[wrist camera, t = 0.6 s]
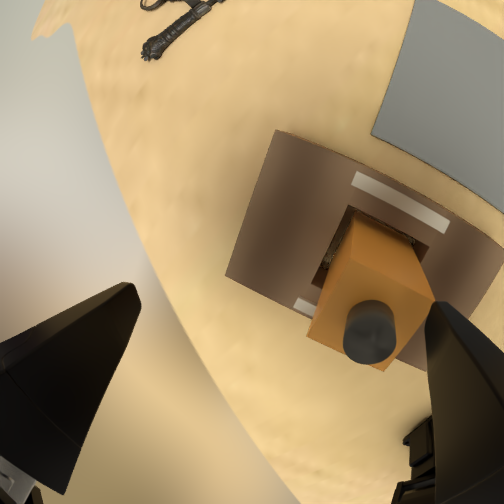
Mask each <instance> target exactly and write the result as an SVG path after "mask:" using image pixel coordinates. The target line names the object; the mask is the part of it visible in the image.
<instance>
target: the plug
mask: <svg viewBox="0 0 504 504" xmlns="http://www.w3.org/2000/svg"><path fill="white" fill-rule="evenodd" d="M434 301H435V298H434V296H433V293H432V291H431V288H430V286H429V283H428V281H427V279H426V276H425V274H424V272H423V269H422V267H421V265H420V263H419V261H418V258H417V256H416V254H415V252H414V250H413V248H412V246H411V244H410V242H409V239H408V237H406V236H404V235H403V234H401V233H399V232H397V231H395V230H393V229H391V228H389V227H387V226H386V225H384V224H382V223H380V222H378V221H376V220H374V219H372V218H370V217H368V216H366V215H364V214H362V213H360V212H358V211H356V210H355V212H354V215H353V217H352V219H351V221H350V223H349V225H348V227H347V230H346V232H345V234H344V236H343V238H342V240H341V242H340V244H339V246H338V248H337V250H336V252H335V254H334V256H333V258H332V260H331V263H330V266H329V269H328V273H327V276H326V279H325V282H324V285H323V289H322V292H321V295H320V298H319V301H318V304H317V307H316V310H315V313H314V316H313V319H312V322H311V324H310V327H309V330H308V333H307V337H309V338H311V339H313V340H315V341H317V342H319V343H321V344H323V345H326V346H328V347H330V348H332V349H334V350H336V351H338V352H341V353H343V354H345V355H347V356H348V357H349V358H350V359H351V360H353V361H355V362H357V363H360V364H366V365H369V366H372V367H374V368H376V369H379V370H381V371H383V372H384V370H385V369H386V368H387V367H388V366H389V365H390V363H391V362H392V361H393V360H394V359H395V357H396V356H397V355H398V354H399V352H400V351H401V350H402V349H403V347H404V346H405V345H406V344H407V342H408V341H409V340H410V338H411V337H412V336H413V335H414V333H415V332H416V331H417V329H418V328H419V326H420V325H421V324H422V322H423V321H424V320H425V318H426V317H427V315H428V313H429V311H430V308H431V305H432V303H433V302H434Z"/></svg>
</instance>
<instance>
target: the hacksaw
mask: <svg viewBox="0 0 504 504" xmlns="http://www.w3.org/2000/svg"><path fill="white" fill-rule="evenodd" d="M142 1H143V0H141V2H140V7H141V9H143V10H151V9H153V8H155V7H157V6H158V5H159V4H161V3H163V2H164V1H165V0H158V1H157V2H156V3H155V4H153V5H151V6H148V7H146V6H143V4H142ZM169 1H171V2H172V1H174V0H169ZM178 1H179V0H178ZM183 1H185V2H186V3H187V4H188V5H189V6H190V7H191V8H192V9H190V10H189V12H187V13H186V14H184V15H183V16H181V17H180V18H179V19H178V20H176V21H175V22H174V23H173V24H172V25H170V26H169V27H167V28H166V29H165V30H164V31H163V32H161V33H160V34H158V35H156V36H153V37H151V38H149V39H148V40H147V42H145V43H144V44H143V51H142V52H141V55H143V56H142V57H141V58H144V61H147V59H148V56H149V57H150V58H154V59H155V60H157V59H158V58H159V57H160V56H161V54H162V52H163V51H164V49H165V48H167V46H168V45H169V44H170V43H172V41H173V40H174V39H176V38H177V37H178V36H179V35H180V34H181V33H183V32H184V31H185V30H186V29H187V28H188V27H189V26H191V25H192V24H193V23H194V22H195V21H196V20H198V19H200V18H201V16H203V15H204V14H205V13H207V12H209V11H210V10H211V7H210V6H211V5H212V4H214V3H215V2H217V1H218V2H219V3H220V2H221V1H222V0H209V1H207V2H205V1H200V0H183Z"/></svg>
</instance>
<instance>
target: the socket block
mask: <svg viewBox="0 0 504 504" xmlns="http://www.w3.org/2000/svg"><path fill="white" fill-rule="evenodd" d="M348 204H349V205H351V206H353V207H355V208H357V209H359V210H361V211H363V212H365V213H367V214H369V215H371V216H373V217H375V218H377V219H379V220H381V221H383V222H385V223H387V224H389V225H391V226H393V227H394V228H396V229H398V230H400V231H402V232H404V233H406V234H408V235H409V236H411V237H413V238H415V239H417V240H416V242H415V244H414V246H413V250H414V252H415V254H416V256H417V258H418V261H419V263H420V265H421V267H422V269H423V272H424V274H425V276H426V279H427V281H428V283H429V286H430V288H431V291H432V293H433V296H434V298H435V301H447V302H448V303H449V304H451V305H452V306H453V307H454V308H455V309H456V310H458V311H459V312H460V313H461V314H462V315H463V316H464V317H466V318H467V319H468V318H469V317H470V316H471V314H472V313H473V311H474V310H475V308H476V307H477V305H478V304H479V302H480V301H481V299H482V298H483V296H484V295H485V293H486V291H487V290H488V288H489V287H490V285H491V283H492V282H493V280H494V278H495V277H496V275H497V273H498V271H499V270H500V268H501V266H502V264H503V262H504V248H502V247H501V246H500V245H499V244H498V243H496V242H495V241H494V240H493V239H491V238H490V237H489V236H487V235H486V234H484V233H483V232H481V231H480V230H479V229H477V228H476V227H474V226H473V225H471V224H470V223H468V222H466V221H465V220H463V219H462V218H460V217H459V216H457V215H456V214H454V213H452V212H451V211H449V210H447V209H446V208H444V207H443V206H441V205H439V204H438V203H436V202H434V201H432V200H431V199H429V198H427V197H425V196H424V195H422V194H420V193H418V192H417V191H415V190H413V189H411V188H409V187H407V186H406V185H404V184H402V183H400V182H398V181H396V180H394V179H392V178H390V177H388V176H386V175H384V174H382V173H380V172H378V171H376V170H374V169H372V168H370V167H368V166H366V165H364V164H362V163H360V162H358V161H355V160H353V159H351V158H349V157H347V156H344V155H342V154H340V153H337V152H335V151H333V150H331V149H328V148H326V147H323V146H321V145H319V144H316V143H314V142H311V141H309V140H306V139H304V138H301V137H298V136H296V135H293V134H290V133H288V132H283V131H279V130H275V133H274V135H273V138H272V141H271V144H270V147H269V149H268V152H267V155H266V158H265V161H264V163H263V166H262V169H261V172H260V175H259V178H258V180H257V183H256V186H255V189H254V192H253V195H252V198H251V200H250V203H249V206H248V209H247V212H246V215H245V218H244V221H243V224H242V227H241V229H240V232H239V235H238V238H237V241H236V244H235V247H234V250H233V253H232V256H231V259H230V262H229V265H228V268H227V271H226V274H225V276H226V277H228V278H230V279H232V280H234V281H236V282H238V283H240V284H242V285H244V286H246V287H248V288H250V289H252V290H253V291H255V292H257V293H259V294H261V295H263V296H265V297H267V298H269V299H271V300H273V301H275V302H277V303H279V304H281V305H283V306H285V307H287V308H289V309H291V310H294V311H296V312H298V313H300V314H302V315H304V316H306V317H308V318H310V319H313V316H314V313H315V310H316V307H317V304H318V301H319V298H320V295H321V292H322V289H323V285H324V282H325V279H326V276H327V273H328V270H326V269H324V268H322V267H320V264H321V262H322V259H323V257H324V255H325V253H326V251H327V249H328V247H329V245H330V243H331V241H332V239H333V237H334V234H335V232H336V230H337V228H338V226H339V224H340V222H341V219H342V217H343V215H344V213H345V211H346V208H347V206H348ZM427 316H428V315H427ZM426 319H427V317H426V318H425V320H424V321H423V322H422V324H421V325H420V326H419V328H418V329H417V331H416V332H415V333H414V335H413V336H412V337H411V338H410V340H409V341H408V342H407V344H406V345H405V346H404V347H403V349H402V350H401V351H400V352H399V354H398V355H397V356H396V357H395V358H396V359H398V360H400V361H402V362H405V363H407V364H409V365H411V366H414V367H416V368H418V369H421V370H423V371H425V372H426V371H427V357H426V344H425V333H424V326H425V322H426Z"/></svg>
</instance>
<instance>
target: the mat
mask: <svg viewBox="0 0 504 504" xmlns="http://www.w3.org/2000/svg"><path fill="white" fill-rule="evenodd" d="M371 135H373V136H375V137H377V138H379V139H381V140H383V141H385V142H388V143H390V144H392V145H394V146H396V147H398V148H399V149H401V150H403V151H405V152H407V153H409V154H411V155H413V156H415V157H416V158H418V159H420V160H422V161H424V162H426V163H427V164H429V165H431V166H432V167H434V168H436V169H438V170H439V171H441V172H443V173H444V174H446V175H448V176H449V177H451V178H452V179H454V180H456V181H457V182H459V183H460V184H462V185H463V186H465V187H466V188H468V189H469V190H471V191H472V192H474V193H475V194H477V195H478V196H480V197H481V198H483V199H484V200H485V201H487V202H488V203H490V204H491V205H492V206H494V207H495V208H496V209H498V210H499V211H500V212H502V213H503V214H504V40H503V39H502V38H500V37H499V36H497V35H496V34H494V33H493V32H491V31H490V30H488V29H487V28H485V27H484V26H482V25H481V24H479V23H477V22H476V21H474V20H472V19H471V18H469V17H467V16H466V15H464V14H462V13H460V12H458V11H457V10H455V9H453V8H451V7H449V6H447V5H445V4H443V3H441V2H439V1H437V0H415V3H414V7H413V11H412V14H411V18H410V21H409V25H408V28H407V31H406V35H405V38H404V41H403V44H402V48H401V51H400V54H399V57H398V60H397V63H396V66H395V69H394V72H393V75H392V78H391V81H390V84H389V86H388V89H387V92H386V95H385V98H384V100H383V103H382V106H381V109H380V111H379V114H378V117H377V119H376V122H375V124H374V127H373V130H372V132H371Z"/></svg>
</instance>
